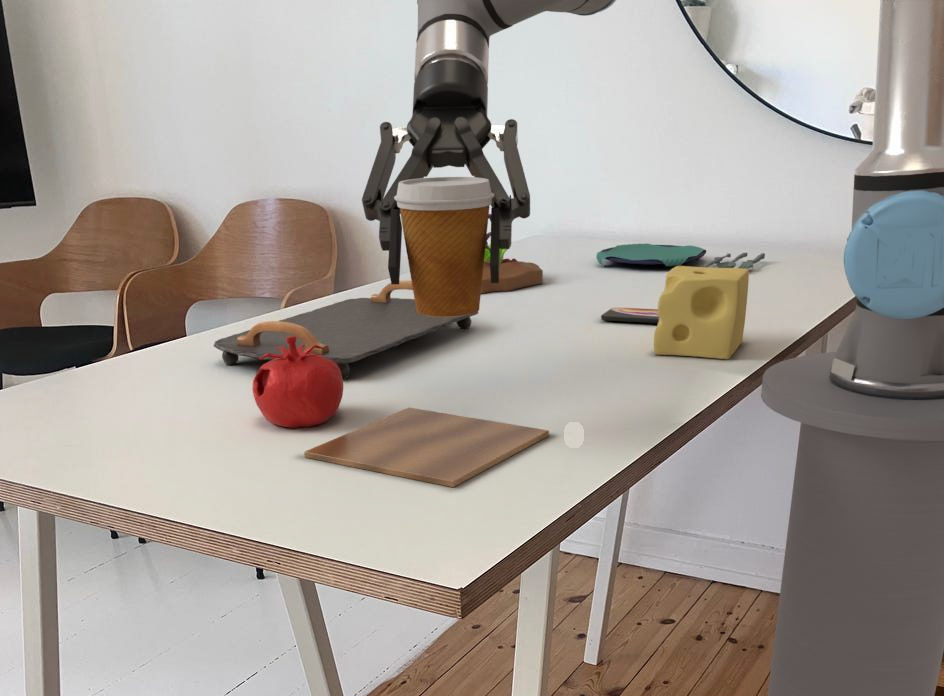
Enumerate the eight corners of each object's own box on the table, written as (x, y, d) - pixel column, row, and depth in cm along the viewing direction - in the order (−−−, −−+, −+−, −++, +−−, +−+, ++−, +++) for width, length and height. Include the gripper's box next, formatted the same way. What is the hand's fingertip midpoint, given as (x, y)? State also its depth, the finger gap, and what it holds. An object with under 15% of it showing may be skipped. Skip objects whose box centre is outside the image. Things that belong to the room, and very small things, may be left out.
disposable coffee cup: (507, 303, 112) (506, 176, 106) (477, 323, 104) (474, 186, 98) (420, 299, 115) (415, 176, 109) (385, 318, 107) (377, 186, 101)
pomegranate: (357, 408, 125) (352, 325, 121) (328, 434, 116) (321, 346, 112) (276, 405, 127) (267, 323, 123) (241, 430, 119) (231, 344, 114)
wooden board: (549, 435, 114) (549, 430, 114) (453, 487, 101) (453, 481, 101) (409, 412, 123) (408, 407, 123) (304, 457, 110) (303, 451, 110)
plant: (563, 282, 192) (564, 214, 187) (471, 297, 182) (470, 225, 177) (496, 268, 207) (495, 205, 202) (408, 281, 197) (405, 214, 192)
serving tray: (364, 313, 173) (361, 272, 170) (492, 325, 163) (492, 281, 160) (196, 369, 144) (189, 320, 141) (340, 388, 133) (336, 336, 130)
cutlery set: (622, 252, 220) (622, 240, 219) (770, 261, 207) (771, 248, 206) (581, 268, 205) (581, 255, 204) (738, 278, 192) (739, 264, 191)
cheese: (652, 355, 144) (657, 276, 139) (670, 337, 153) (675, 262, 148) (732, 361, 140) (740, 280, 136) (746, 342, 149) (754, 265, 144)
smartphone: (612, 306, 168) (710, 311, 163) (612, 312, 169) (710, 317, 164) (599, 315, 162) (700, 320, 157) (599, 321, 162) (700, 326, 157)
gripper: (557, 109, 114) (557, 297, 107) (350, 114, 115) (338, 299, 109) (559, 51, 107) (558, 248, 100) (338, 57, 108) (324, 252, 102)
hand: (443, 275), depth 105 cm, fingers closed on disposable coffee cup, 9 cm apart
